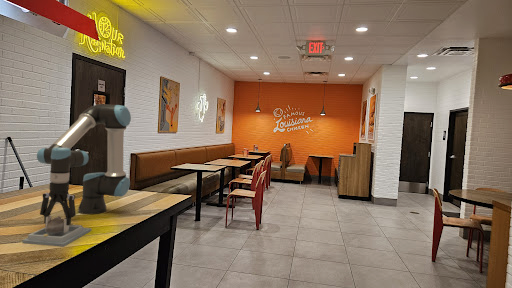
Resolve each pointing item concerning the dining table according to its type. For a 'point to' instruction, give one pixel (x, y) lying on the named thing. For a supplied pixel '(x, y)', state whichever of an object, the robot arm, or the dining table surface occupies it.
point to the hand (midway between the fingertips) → (57, 231)
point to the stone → (55, 225)
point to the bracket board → (57, 236)
